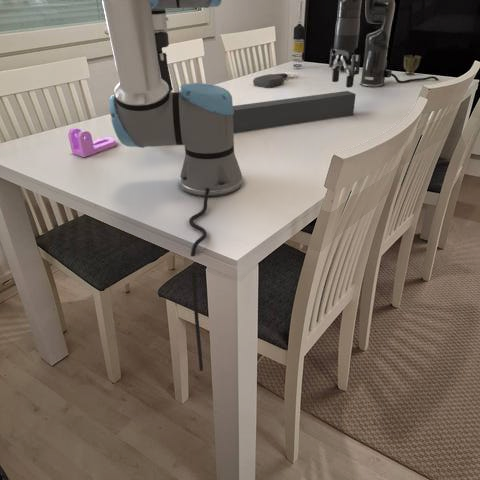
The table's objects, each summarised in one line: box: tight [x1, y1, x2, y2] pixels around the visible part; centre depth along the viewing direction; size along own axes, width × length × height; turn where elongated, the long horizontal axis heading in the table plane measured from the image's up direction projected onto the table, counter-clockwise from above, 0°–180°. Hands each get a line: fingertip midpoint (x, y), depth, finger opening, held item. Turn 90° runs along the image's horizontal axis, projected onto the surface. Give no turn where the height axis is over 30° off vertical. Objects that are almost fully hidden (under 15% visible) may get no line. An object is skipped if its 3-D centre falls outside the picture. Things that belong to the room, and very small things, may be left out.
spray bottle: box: [252, 71, 300, 88], centre depth 201 cm, size 3×11×24 cm
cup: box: [403, 54, 422, 76], centre depth 208 cm, size 8×7×8 cm
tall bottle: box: [291, 0, 306, 69], centre depth 218 cm, size 6×6×30 cm
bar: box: [233, 90, 356, 134], centre depth 146 cm, size 72×5×7 cm, turn 113°
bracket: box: [67, 127, 117, 158], centre depth 130 cm, size 13×6×7 cm, turn 143°
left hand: (162, 110), depth 132 cm, fingers open, 13 cm apart
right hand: (342, 84), depth 152 cm, fingers open, 8 cm apart
